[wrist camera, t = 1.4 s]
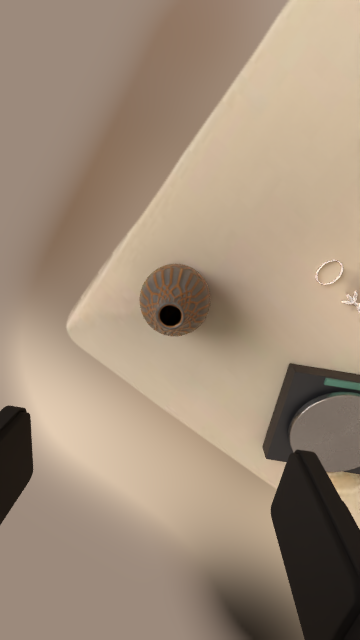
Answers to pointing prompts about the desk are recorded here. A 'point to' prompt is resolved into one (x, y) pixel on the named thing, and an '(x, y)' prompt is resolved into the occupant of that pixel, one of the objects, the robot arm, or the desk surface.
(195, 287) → the vase
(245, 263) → the desk surface
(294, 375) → the scale
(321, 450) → the scale pan
